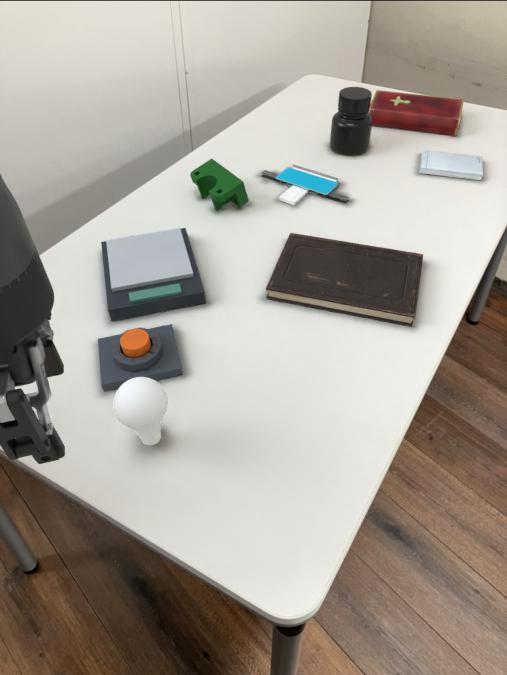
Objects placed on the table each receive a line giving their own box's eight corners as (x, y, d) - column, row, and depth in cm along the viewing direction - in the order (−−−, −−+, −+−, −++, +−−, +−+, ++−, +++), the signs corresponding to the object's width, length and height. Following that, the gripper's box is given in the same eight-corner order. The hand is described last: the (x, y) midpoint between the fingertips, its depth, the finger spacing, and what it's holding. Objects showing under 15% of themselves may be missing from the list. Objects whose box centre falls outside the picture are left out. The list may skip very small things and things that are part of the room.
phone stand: (245, 188, 105) (244, 181, 104) (276, 164, 112) (276, 157, 110) (331, 218, 97) (331, 210, 96) (359, 190, 104) (360, 182, 102)
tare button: (123, 360, 70) (121, 352, 69) (121, 340, 73) (118, 331, 72) (152, 354, 71) (150, 346, 70) (149, 334, 74) (147, 326, 72)
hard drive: (482, 155, 109) (423, 148, 112) (483, 174, 104) (420, 166, 106) (480, 162, 110) (421, 155, 113) (480, 181, 105) (419, 174, 108)
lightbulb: (121, 431, 66) (101, 378, 58) (166, 413, 67) (152, 358, 59) (136, 469, 62) (117, 418, 54) (183, 448, 64) (171, 396, 56)
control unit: (103, 391, 70) (98, 378, 68) (100, 345, 76) (95, 331, 74) (182, 374, 72) (180, 360, 70) (173, 330, 78) (170, 316, 76)
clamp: (206, 212, 107) (184, 173, 102) (229, 197, 108) (208, 158, 103) (229, 220, 97) (206, 177, 92) (253, 203, 98) (232, 159, 93)
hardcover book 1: (411, 327, 77) (415, 316, 75) (266, 299, 82) (265, 288, 80) (420, 262, 87) (423, 252, 86) (290, 241, 92) (290, 230, 91)
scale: (111, 321, 79) (106, 306, 77) (104, 253, 91) (99, 237, 89) (206, 303, 82) (204, 287, 79) (187, 238, 94) (184, 223, 91)
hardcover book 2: (455, 137, 118) (461, 119, 115) (365, 126, 123) (368, 108, 120) (459, 115, 126) (464, 98, 123) (374, 105, 131) (376, 88, 128)
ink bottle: (370, 139, 119) (378, 85, 110) (370, 157, 113) (379, 102, 104) (328, 137, 120) (332, 84, 111) (326, 155, 114) (331, 100, 105)
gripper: (-79, 203, 35) (10, 359, 46) (-130, 356, 25) (-2, 503, 37) (36, 186, 36) (94, 342, 48) (28, 326, 26) (103, 477, 38)
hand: (52, 412), depth 42 cm, fingers open, 8 cm apart
